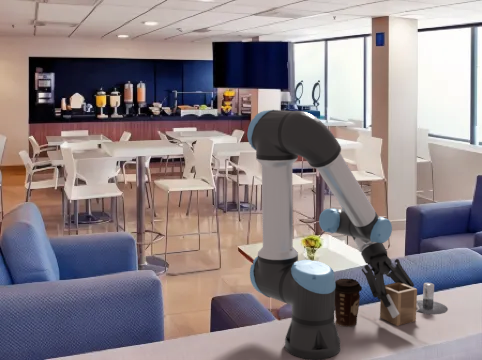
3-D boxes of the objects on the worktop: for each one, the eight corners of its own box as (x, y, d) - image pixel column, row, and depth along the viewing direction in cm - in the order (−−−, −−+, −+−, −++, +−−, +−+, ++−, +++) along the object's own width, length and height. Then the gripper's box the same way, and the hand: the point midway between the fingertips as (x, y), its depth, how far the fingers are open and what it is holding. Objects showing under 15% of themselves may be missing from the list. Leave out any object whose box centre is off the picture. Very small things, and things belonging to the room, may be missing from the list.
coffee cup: (359, 318, 185) (360, 277, 183) (362, 328, 177) (363, 286, 175) (331, 317, 186) (332, 277, 184) (332, 327, 178) (333, 286, 176)
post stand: (402, 313, 189) (403, 286, 187) (415, 302, 198) (416, 276, 197) (440, 321, 182) (441, 293, 180) (452, 309, 191) (453, 282, 190)
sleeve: (379, 317, 182) (380, 285, 180) (398, 312, 185) (399, 281, 184) (397, 325, 175) (398, 293, 174) (415, 320, 179) (417, 288, 177)
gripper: (389, 249, 196) (424, 312, 184) (340, 258, 186) (373, 325, 175) (401, 237, 190) (438, 301, 179) (351, 245, 181) (386, 314, 169)
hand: (406, 313), depth 177 cm, fingers closed on sleeve, 7 cm apart
